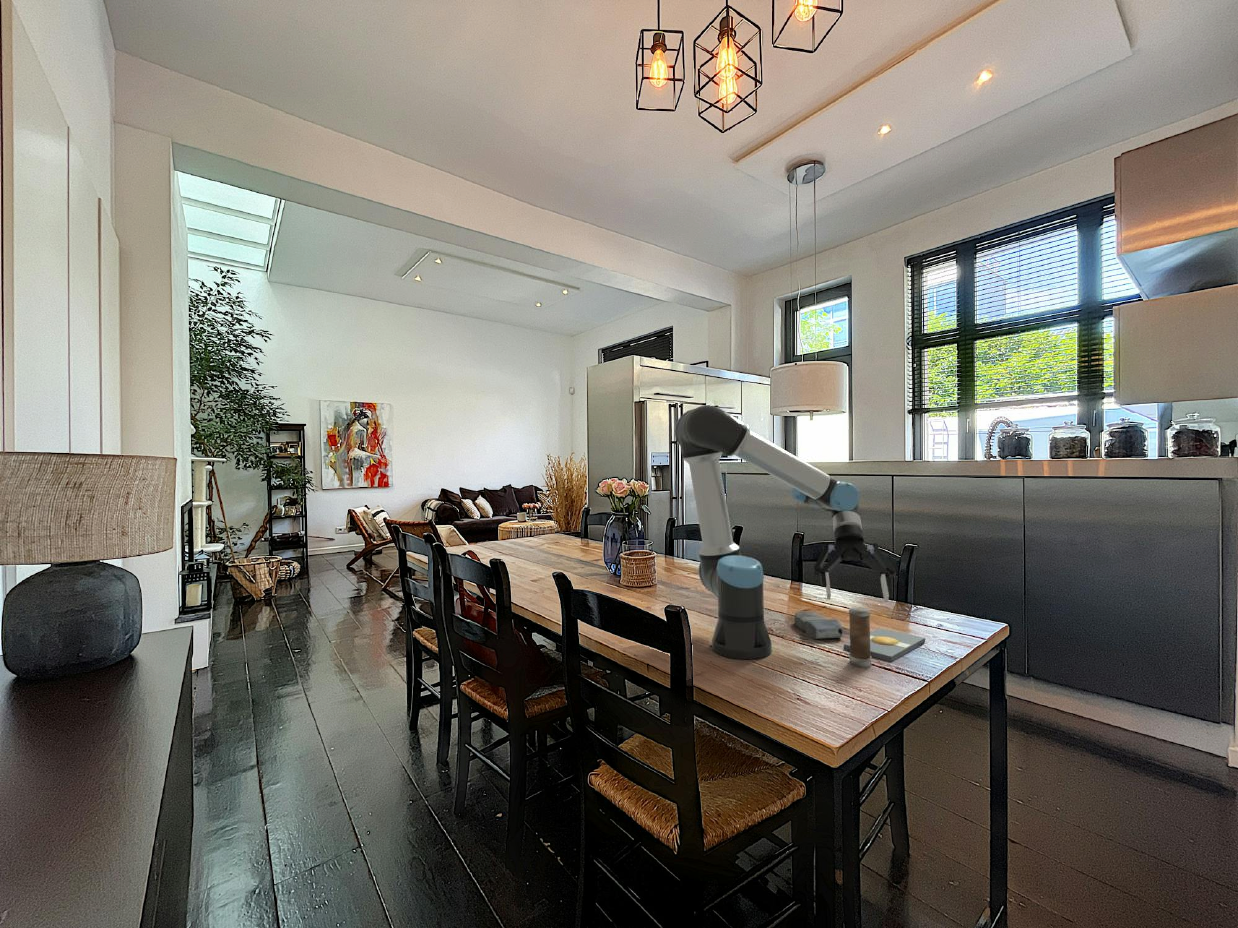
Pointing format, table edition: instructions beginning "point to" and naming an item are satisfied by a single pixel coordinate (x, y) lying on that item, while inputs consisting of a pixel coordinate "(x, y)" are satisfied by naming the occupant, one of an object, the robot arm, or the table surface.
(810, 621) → the handheld device
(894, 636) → the board
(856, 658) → the tall brown post
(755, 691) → the table surface
